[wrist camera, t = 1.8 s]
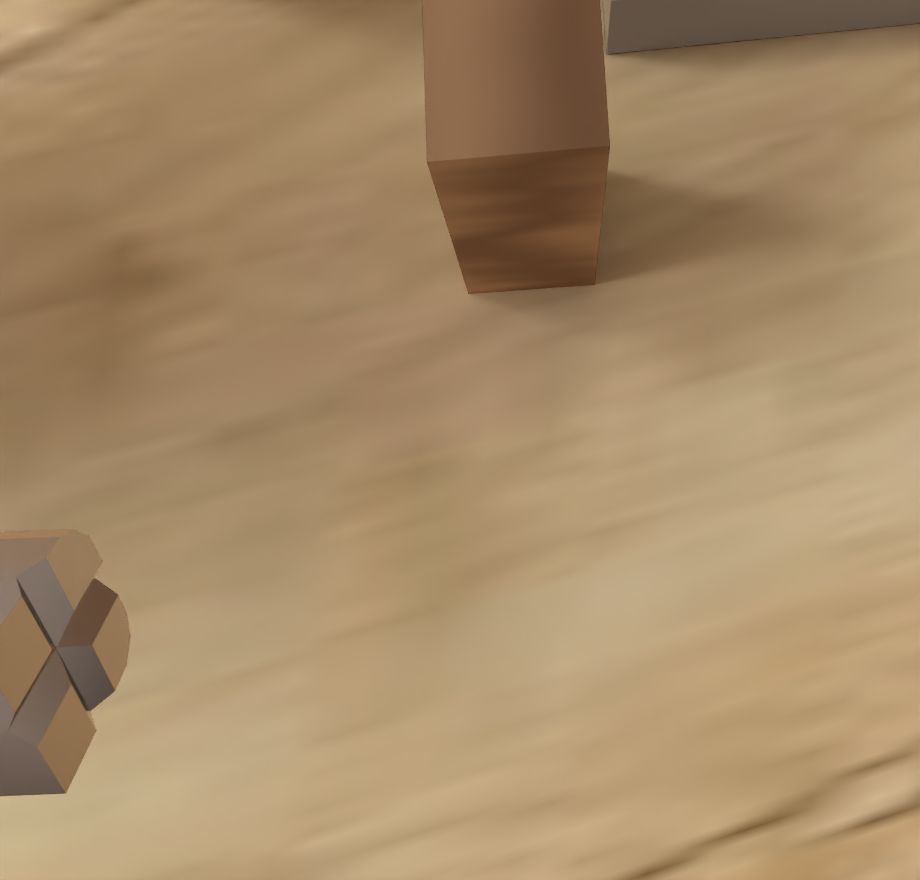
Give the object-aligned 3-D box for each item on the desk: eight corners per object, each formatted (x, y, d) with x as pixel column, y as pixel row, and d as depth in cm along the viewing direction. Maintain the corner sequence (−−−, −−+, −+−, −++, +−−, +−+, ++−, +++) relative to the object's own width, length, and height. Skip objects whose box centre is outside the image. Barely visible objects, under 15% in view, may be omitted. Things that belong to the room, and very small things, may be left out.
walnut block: (468, 293, 32) (427, 161, 22) (464, 177, 32) (421, -1, 22) (594, 284, 31) (609, 145, 21) (586, 166, 32) (598, -21, 22)
